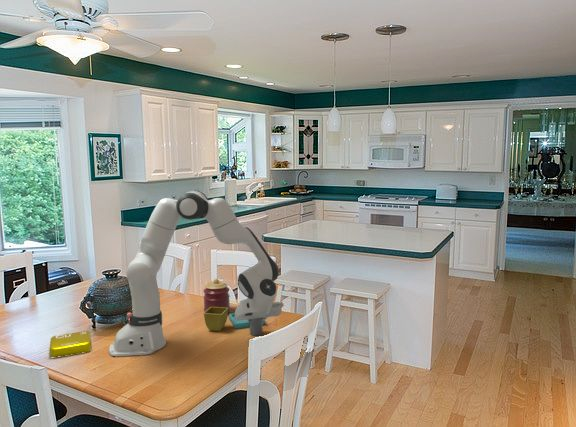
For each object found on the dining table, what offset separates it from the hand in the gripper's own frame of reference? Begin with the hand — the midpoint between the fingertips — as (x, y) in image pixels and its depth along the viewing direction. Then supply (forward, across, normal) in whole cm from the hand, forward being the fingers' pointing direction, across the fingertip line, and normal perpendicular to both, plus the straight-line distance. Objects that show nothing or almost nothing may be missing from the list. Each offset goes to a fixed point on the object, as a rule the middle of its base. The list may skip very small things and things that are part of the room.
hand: (255, 319), depth 200 cm
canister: (+28, +12, -18) cm, 35 cm away
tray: (+14, +1, -6) cm, 16 cm away
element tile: (+12, +76, -2) cm, 77 cm away
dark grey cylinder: (+4, 0, +5) cm, 6 cm away
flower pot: (+12, +16, -3) cm, 20 cm away
